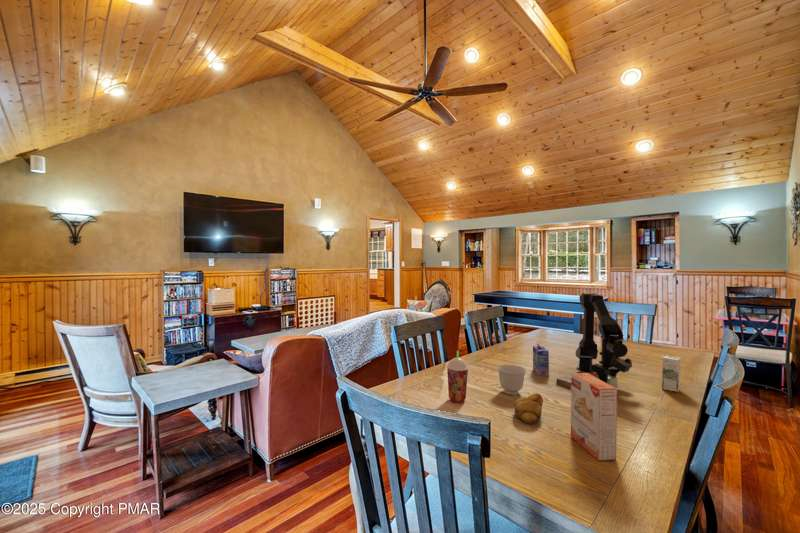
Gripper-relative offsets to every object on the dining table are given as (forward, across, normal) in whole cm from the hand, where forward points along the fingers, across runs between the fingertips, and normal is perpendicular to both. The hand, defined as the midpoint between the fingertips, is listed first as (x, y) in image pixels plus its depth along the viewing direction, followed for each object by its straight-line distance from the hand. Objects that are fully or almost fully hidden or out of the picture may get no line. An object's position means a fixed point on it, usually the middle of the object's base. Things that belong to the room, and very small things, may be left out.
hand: (608, 385), depth 157 cm
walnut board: (+2, -10, +10) cm, 14 cm away
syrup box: (+1, +22, -15) cm, 27 cm away
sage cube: (+1, 0, 0) cm, 1 cm away
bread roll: (+1, -55, -2) cm, 55 cm away
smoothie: (+1, -67, +23) cm, 71 cm away
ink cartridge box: (+1, -8, +29) cm, 30 cm away
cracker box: (+1, -55, -25) cm, 60 cm away
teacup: (+1, -40, +19) cm, 44 cm away
